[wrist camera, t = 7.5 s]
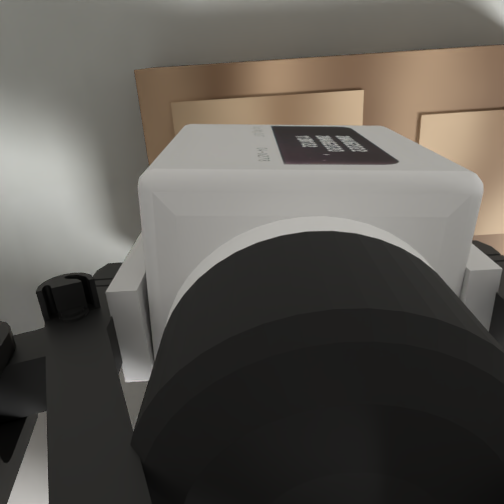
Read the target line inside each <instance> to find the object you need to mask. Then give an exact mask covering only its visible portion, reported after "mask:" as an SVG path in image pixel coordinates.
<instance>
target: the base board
mask: <svg viewBox="0 0 504 504" xmlns="http://www.w3.org/2000/svg"><path fill="white" fill-rule="evenodd" d="M134 73H135V79H136V86H137V92H138V98H139V105H140V111H141V118H142V124H143V130H144V137H145V143H146V150H147V156H148V162H149V166H150V165H151V163H152V162H153V161H154V160H155V159H156V158H157V157H158V155H159V154H160V153H161V152H162V151H163V150H164V149H165V147H166V146H167V145H168V144H169V143H170V142H171V141H172V140H173V138H174V137H175V136H176V135H177V134H178V133H179V132H180V130H181V129H182V128H183V127H184V126H185V125H189V124H247V125H353V126H383V127H386V128H388V129H390V130H392V131H394V132H396V133H398V134H400V135H402V136H404V137H406V138H408V139H410V140H412V141H414V142H416V143H418V144H419V145H421V146H423V147H425V148H427V149H429V150H431V151H433V152H435V153H437V154H439V155H441V156H443V157H445V158H447V159H449V160H451V161H453V162H455V163H456V164H458V165H460V166H462V167H464V168H466V169H468V170H470V171H472V172H474V173H476V174H477V175H478V177H479V178H480V179H481V181H482V182H483V191H484V192H483V196H482V200H481V205H480V209H479V213H478V218H477V222H476V226H475V231H474V235H473V239H472V240H477V241H480V242H482V243H485V244H487V245H489V246H492V247H493V248H494V249H495V250H497V251H498V252H499V253H501V255H503V256H504V44H502V45H487V46H472V47H457V48H442V49H427V50H411V51H396V52H381V53H366V54H351V55H336V56H321V57H306V58H291V59H276V60H261V61H246V62H231V63H216V64H201V65H186V66H171V67H156V68H146V69H138V70H134Z"/></svg>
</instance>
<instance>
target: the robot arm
mask: <svg viewBox="0 0 504 504" xmlns="http://www.w3.org/2000/svg"><path fill="white" fill-rule="evenodd" d="M36 294H37V297H38V301H39V304H40V307H41V311H42V314H43V318H44V321H45V328H42V329H38V330H35V331H31V332H26V333H22V334H18V335H13V334H12V331H11V328H10V326H9V325H8V324H7V323H6V322H2V321H0V504H7V502H8V499H9V496H10V494H11V491H12V488H13V485H14V482H15V480H16V477H17V474H18V471H19V468H20V465H21V463H22V460H23V457H24V454H25V451H26V449H27V446H28V443H29V440H30V437H31V435H32V432H33V429H34V426H35V423H36V421H37V418H38V413H40V412H44V411H47V442H48V486H49V504H152V502H151V499H150V495H149V491H148V487H147V483H146V479H145V475H144V472H143V468H142V464H141V460H140V457H139V456H138V455H137V453H136V452H135V451H134V449H133V448H132V447H131V445H130V443H131V439H132V435H133V429H132V425H131V422H130V418H129V414H128V410H127V406H126V402H125V398H124V395H123V391H122V387H121V383H120V379H119V375H118V373H119V371H120V368H121V366H122V369H123V374H124V378H125V382H140V381H149V379H150V375H151V372H152V369H153V365H154V352H153V341H152V331H151V321H150V310H149V300H148V290H147V279H146V269H145V259H144V248H143V238H142V231H141V233H140V235H139V236H138V238H137V240H136V242H135V243H134V245H133V247H132V248H131V250H130V252H129V253H128V255H127V257H126V258H125V260H124V262H123V263H108V264H107V265H105V266H104V267H102V268H101V269H99V270H98V271H97V272H96V273H95V274H94V276H93V277H92V276H91V275H89V274H86V273H70V274H64V275H60V276H57V277H54V278H51V279H49V280H47V281H45V282H44V283H42V284H41V285H40V286H39V287H38V288H37V291H36ZM459 299H460V300H461V301H462V302H463V303H464V304H465V305H466V306H467V308H468V309H469V310H470V311H471V312H472V313H473V314H474V316H475V317H476V318H477V319H478V320H479V321H480V322H481V324H482V325H483V326H484V327H485V328H486V329H487V330H488V332H489V333H490V334H491V335H492V336H493V337H494V338H495V340H496V341H497V342H498V343H499V344H500V345H501V346H502V348H503V349H504V256H503V255H501V253H499V252H498V251H497V250H495V249H494V248H493V247H492V246H489V245H487V244H485V243H482V242H480V241H477V240H472V244H471V248H470V252H469V257H468V261H467V265H466V270H465V274H464V278H463V283H462V287H461V292H460V296H459Z"/></svg>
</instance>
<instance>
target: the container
mask: <svg viewBox="0 0 504 504" xmlns="http://www.w3.org/2000/svg"><path fill="white" fill-rule="evenodd" d="M137 187H138V197H139V207H140V217H141V228H142V238H143V248H144V259H145V269H146V279H147V290H148V300H149V310H150V321H151V331H152V341H153V352H154V365H153V369H152V372H151V375H150V379H149V382H148V385H147V389H146V392H145V395H144V399H143V402H142V405H141V409H140V412H139V415H138V419H137V422H136V425H135V429H134V432H133V435H132V439H131V443H130V445H131V447H132V448H133V449H134V451H135V452H136V453H137V455H138V456H139V457H140V460H141V464H142V468H143V472H144V475H145V479H146V483H147V487H148V491H149V495H150V499H151V502H152V504H504V349H503V348H502V346H501V345H500V344H499V343H498V342H497V341H496V340H495V338H494V337H493V336H492V335H491V334H490V333H489V332H488V330H487V329H486V328H485V327H484V326H483V325H482V324H481V322H480V321H479V320H478V319H477V318H476V317H475V316H474V314H473V313H472V312H471V311H470V310H469V309H468V308H467V306H466V305H465V304H464V303H463V302H462V301H461V300H460V299H459V296H460V292H461V287H462V283H463V278H464V274H465V270H466V265H467V261H468V257H469V252H470V248H471V244H472V239H473V235H474V231H475V226H476V222H477V218H478V213H479V209H480V205H481V200H482V196H483V192H484V191H483V182H482V181H481V179H480V178H479V177H478V175H477V174H476V173H474V172H472V171H470V170H468V169H466V168H464V167H462V166H460V165H458V164H456V163H455V162H453V161H451V160H449V159H447V158H445V157H443V156H441V155H439V154H437V153H435V152H433V151H431V150H429V149H427V148H425V147H423V146H421V145H419V144H418V143H416V142H414V141H412V140H410V139H408V138H406V137H404V136H402V135H400V134H398V133H396V132H394V131H392V130H390V129H388V128H386V127H383V126H353V125H247V124H189V125H185V126H184V127H183V128H182V129H181V130H180V132H179V133H178V134H177V135H176V136H175V137H174V138H173V140H172V141H171V142H170V143H169V144H168V145H167V146H166V147H165V149H164V150H163V151H162V152H161V153H160V154H159V155H158V157H157V158H156V159H155V160H154V161H153V162H152V163H151V165H150V166H149V167H148V168H147V169H146V170H145V171H144V172H143V174H142V175H141V176H140V177H139V181H138V186H137Z"/></svg>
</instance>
